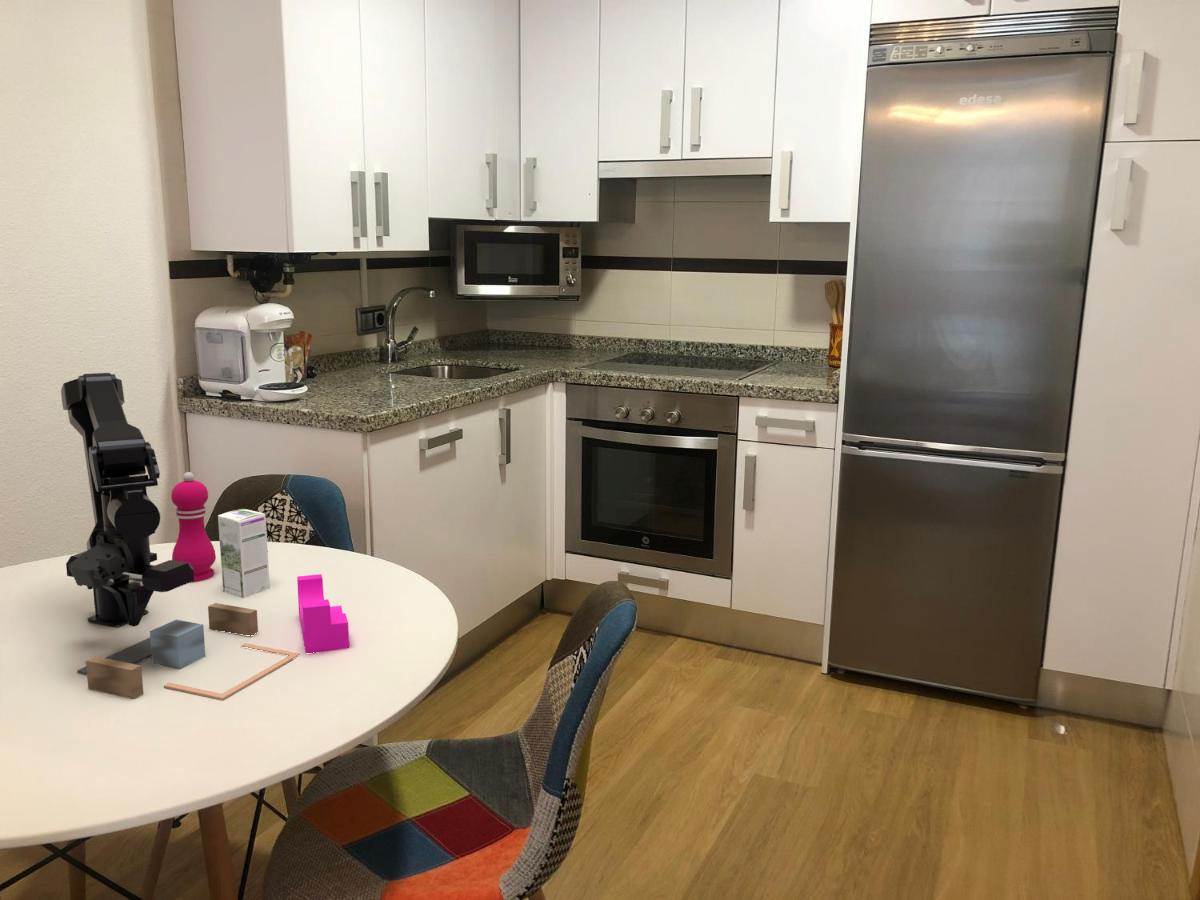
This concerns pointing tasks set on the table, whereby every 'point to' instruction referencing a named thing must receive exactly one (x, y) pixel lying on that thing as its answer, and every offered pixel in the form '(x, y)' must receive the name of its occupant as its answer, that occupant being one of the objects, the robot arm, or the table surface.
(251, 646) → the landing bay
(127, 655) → the grey flat board
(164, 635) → the cube
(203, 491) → the pepper mill
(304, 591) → the toy block
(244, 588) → the syrup box
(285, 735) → the table surface
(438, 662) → the table surface
